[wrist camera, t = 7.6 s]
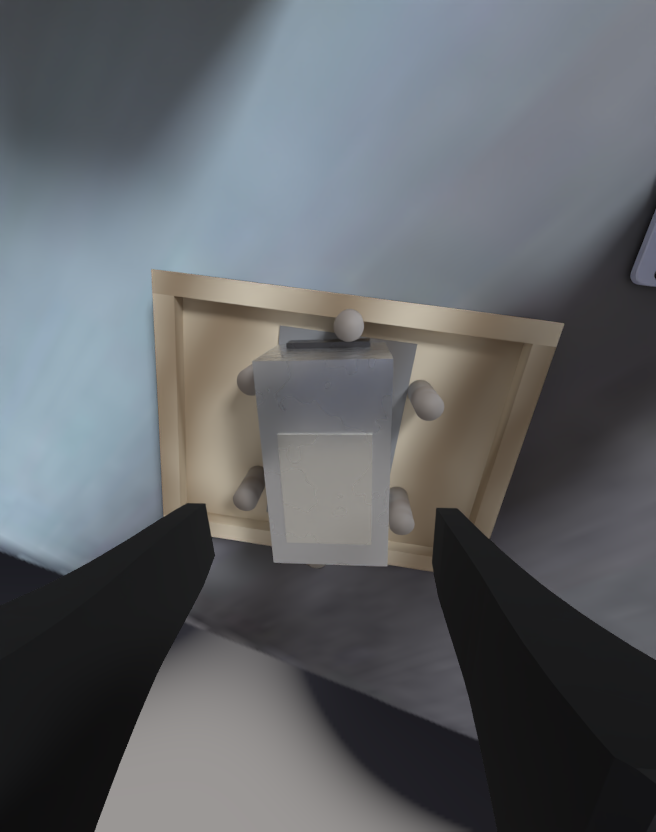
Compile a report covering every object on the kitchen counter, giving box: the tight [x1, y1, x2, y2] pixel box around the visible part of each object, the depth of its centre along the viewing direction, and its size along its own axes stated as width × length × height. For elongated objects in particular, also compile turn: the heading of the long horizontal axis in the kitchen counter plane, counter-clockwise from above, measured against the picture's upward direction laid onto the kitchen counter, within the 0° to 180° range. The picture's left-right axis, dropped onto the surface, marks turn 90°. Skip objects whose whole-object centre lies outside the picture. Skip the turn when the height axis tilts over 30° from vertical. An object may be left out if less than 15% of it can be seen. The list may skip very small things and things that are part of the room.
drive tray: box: [151, 269, 565, 572], centre depth 17 cm, size 18×14×4 cm
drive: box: [252, 338, 393, 567], centre depth 16 cm, size 5×9×5 cm, turn 2°
